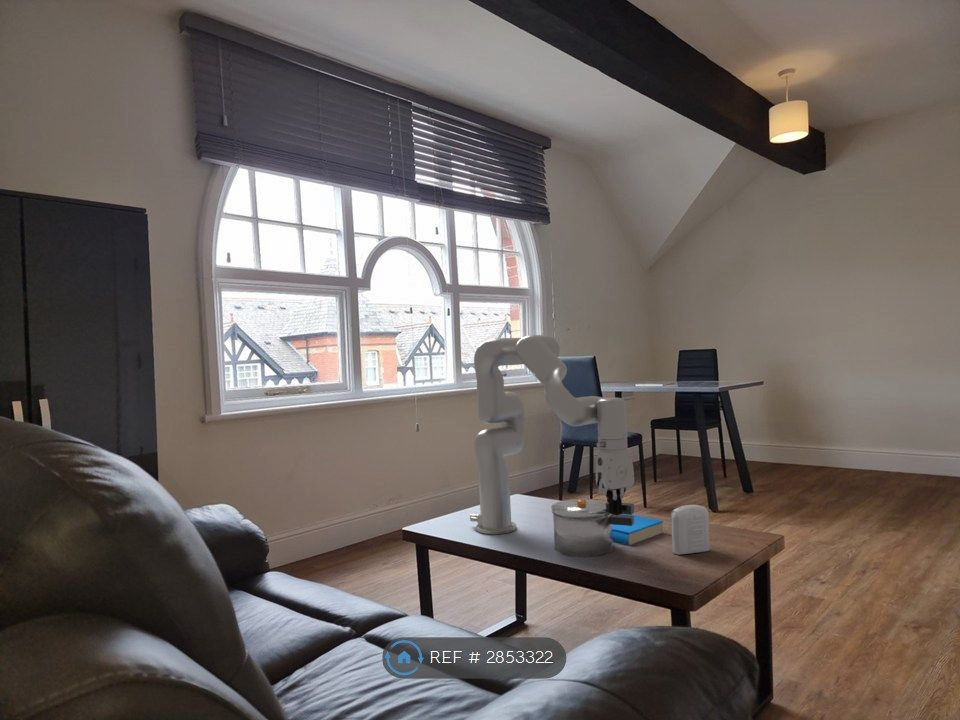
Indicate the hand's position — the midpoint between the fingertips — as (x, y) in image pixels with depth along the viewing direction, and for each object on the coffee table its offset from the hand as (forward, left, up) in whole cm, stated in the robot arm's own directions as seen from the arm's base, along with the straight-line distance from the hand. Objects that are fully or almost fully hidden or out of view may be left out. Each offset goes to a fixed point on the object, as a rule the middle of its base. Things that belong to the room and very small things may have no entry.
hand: (615, 513), depth 169 cm
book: (-7, +23, -12) cm, 27 cm away
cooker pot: (-7, +4, -11) cm, 14 cm away
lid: (-7, +4, -1) cm, 9 cm away
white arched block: (+18, +9, -12) cm, 23 cm away
